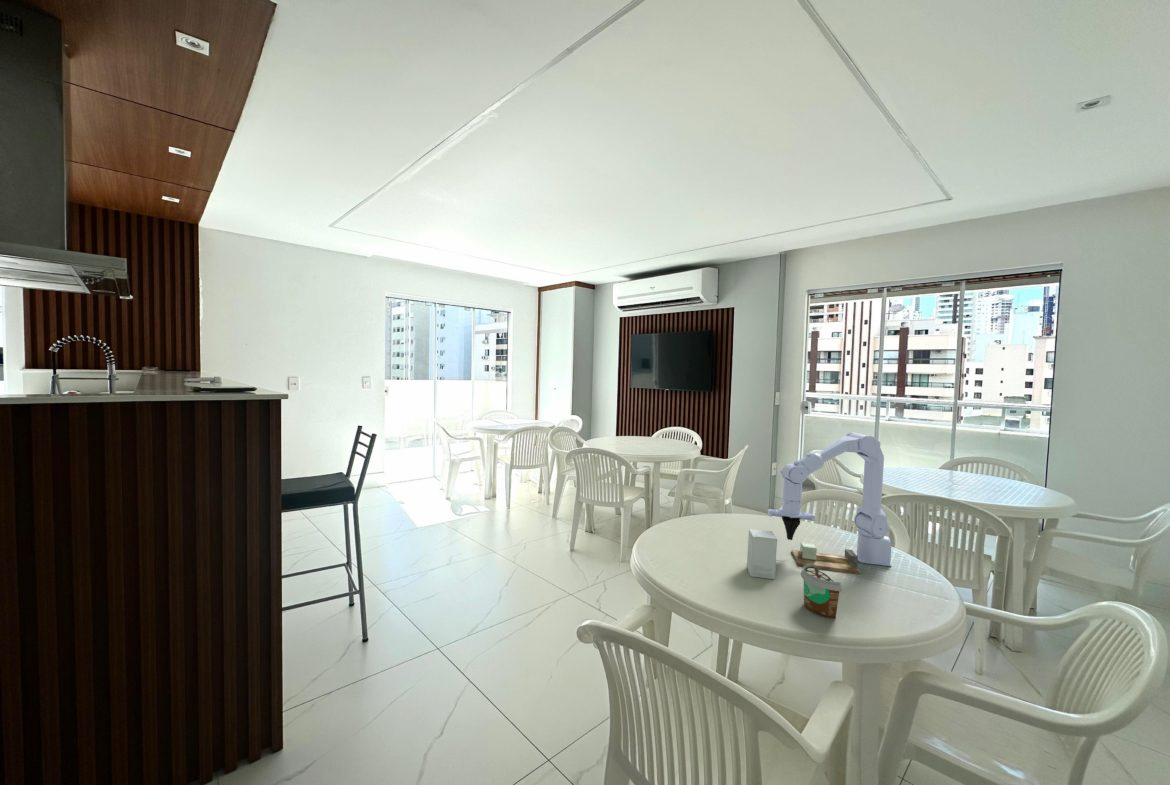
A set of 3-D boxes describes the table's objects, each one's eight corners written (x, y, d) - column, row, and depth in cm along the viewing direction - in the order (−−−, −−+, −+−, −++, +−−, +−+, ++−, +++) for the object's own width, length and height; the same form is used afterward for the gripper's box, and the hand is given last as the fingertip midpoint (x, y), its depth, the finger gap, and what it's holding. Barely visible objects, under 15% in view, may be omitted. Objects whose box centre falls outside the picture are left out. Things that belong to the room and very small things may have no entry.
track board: (847, 559, 154) (848, 546, 154) (859, 574, 143) (860, 560, 142) (791, 552, 159) (792, 539, 158) (798, 566, 147) (799, 552, 147)
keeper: (812, 554, 154) (813, 543, 153) (816, 559, 149) (816, 548, 149) (800, 553, 154) (800, 542, 154) (803, 558, 150) (803, 546, 150)
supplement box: (775, 579, 136) (777, 538, 136) (750, 576, 138) (752, 536, 137) (770, 569, 144) (772, 530, 143) (746, 566, 145) (748, 528, 144)
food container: (790, 597, 125) (792, 562, 125) (810, 597, 126) (813, 562, 125) (816, 621, 113) (818, 583, 113) (839, 621, 114) (841, 583, 113)
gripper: (771, 500, 150) (768, 540, 151) (818, 505, 147) (815, 545, 147) (767, 495, 157) (765, 533, 158) (813, 499, 154) (810, 538, 154)
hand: (789, 538), depth 153 cm, fingers closed
